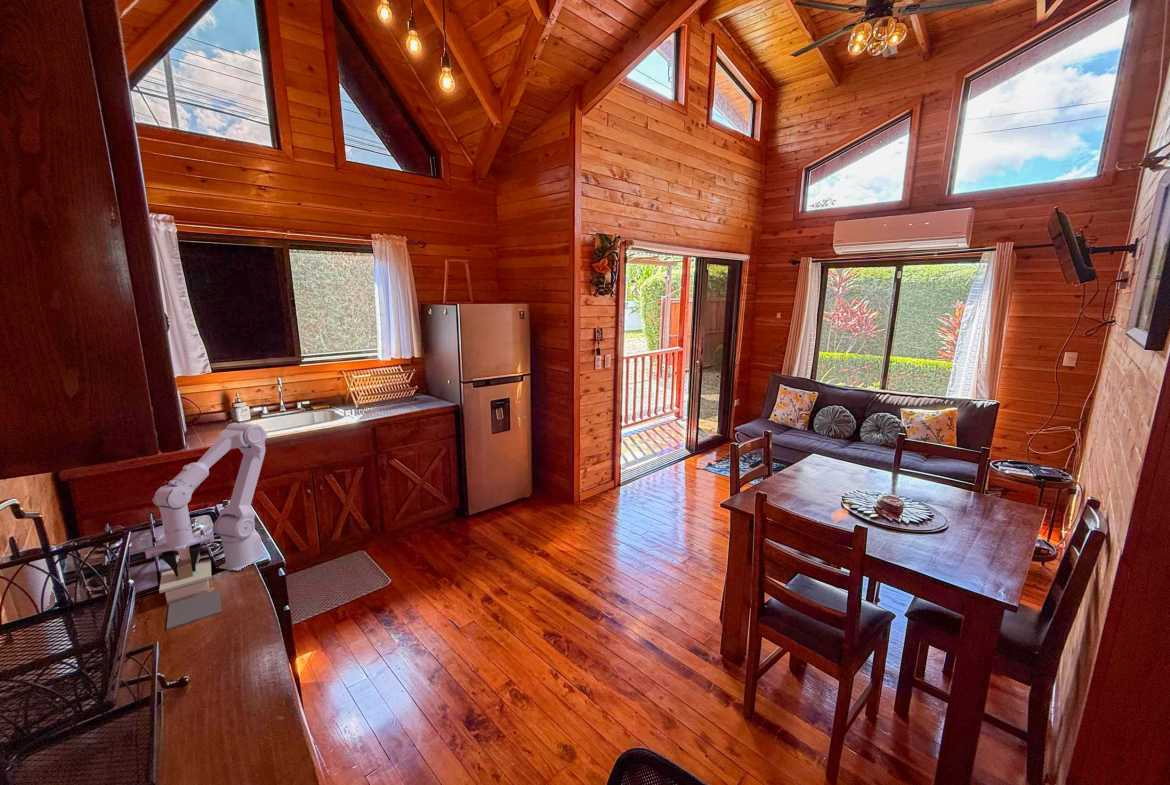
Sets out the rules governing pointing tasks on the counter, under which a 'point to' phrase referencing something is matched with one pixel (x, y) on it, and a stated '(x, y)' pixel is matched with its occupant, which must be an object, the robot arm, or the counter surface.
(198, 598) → the mat
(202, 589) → the dish
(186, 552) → the smoothie
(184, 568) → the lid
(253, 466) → the robot arm
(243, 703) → the counter surface
